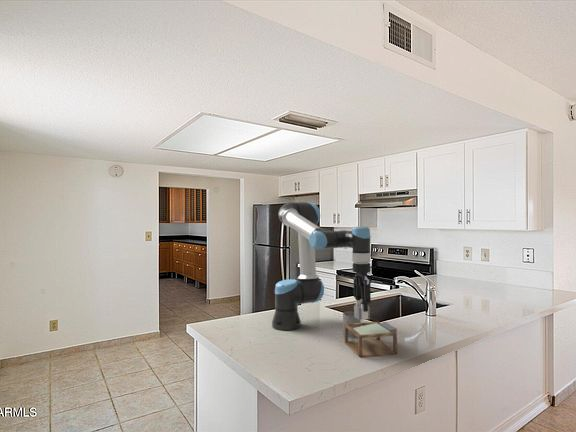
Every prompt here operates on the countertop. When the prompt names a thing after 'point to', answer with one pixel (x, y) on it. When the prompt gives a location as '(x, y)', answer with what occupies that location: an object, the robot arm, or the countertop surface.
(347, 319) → the cup
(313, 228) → the robot arm
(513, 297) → the countertop surface
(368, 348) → the frame
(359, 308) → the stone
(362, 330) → the trapdoor
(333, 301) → the countertop surface
